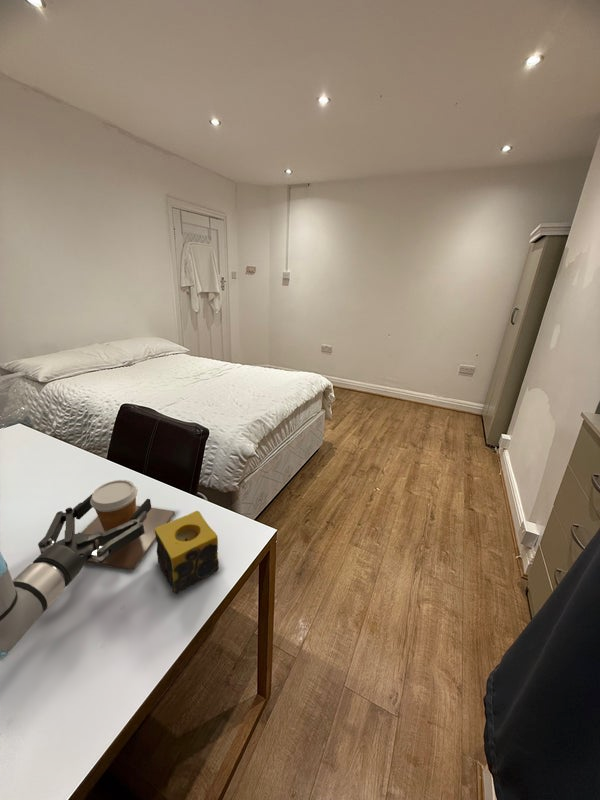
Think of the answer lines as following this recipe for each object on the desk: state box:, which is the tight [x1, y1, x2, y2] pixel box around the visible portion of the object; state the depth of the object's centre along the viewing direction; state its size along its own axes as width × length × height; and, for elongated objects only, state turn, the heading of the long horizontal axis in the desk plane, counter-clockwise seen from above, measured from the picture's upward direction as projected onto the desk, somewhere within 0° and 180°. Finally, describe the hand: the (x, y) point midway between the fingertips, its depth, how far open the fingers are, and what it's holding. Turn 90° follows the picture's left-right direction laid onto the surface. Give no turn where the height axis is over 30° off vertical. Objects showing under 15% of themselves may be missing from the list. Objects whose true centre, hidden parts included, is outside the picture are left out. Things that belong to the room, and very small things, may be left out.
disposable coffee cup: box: [90, 479, 138, 532], centre depth 76 cm, size 10×10×12 cm
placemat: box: [80, 505, 176, 571], centre depth 78 cm, size 18×18×1 cm
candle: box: [154, 510, 220, 595], centre depth 69 cm, size 10×10×10 cm
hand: (123, 499), depth 78 cm, fingers open, 13 cm apart
